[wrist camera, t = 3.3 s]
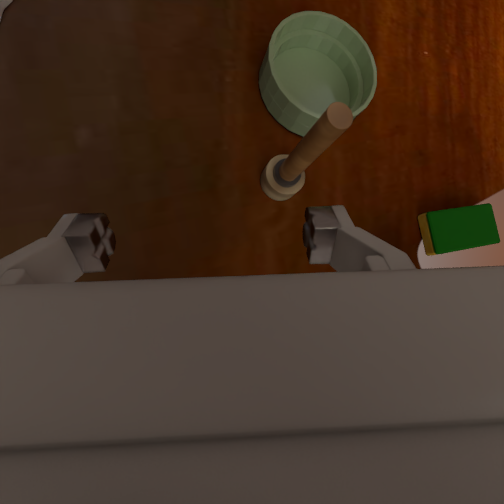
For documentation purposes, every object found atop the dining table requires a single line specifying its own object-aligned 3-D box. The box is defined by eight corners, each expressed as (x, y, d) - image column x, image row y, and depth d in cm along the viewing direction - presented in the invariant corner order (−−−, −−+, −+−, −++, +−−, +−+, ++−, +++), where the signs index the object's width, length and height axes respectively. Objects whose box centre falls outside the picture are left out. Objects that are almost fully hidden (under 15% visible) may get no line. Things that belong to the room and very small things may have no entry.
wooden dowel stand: (253, 171, 46) (300, 96, 28) (286, 157, 48) (350, 78, 30) (270, 206, 46) (329, 153, 28) (303, 192, 48) (377, 133, 30)
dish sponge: (487, 244, 55) (501, 242, 53) (425, 256, 52) (437, 254, 49) (478, 206, 56) (491, 202, 53) (416, 215, 52) (427, 211, 50)
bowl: (239, 57, 48) (248, 25, 42) (327, 32, 53) (345, 0, 47) (287, 154, 48) (302, 136, 42) (371, 121, 52) (394, 100, 47)
